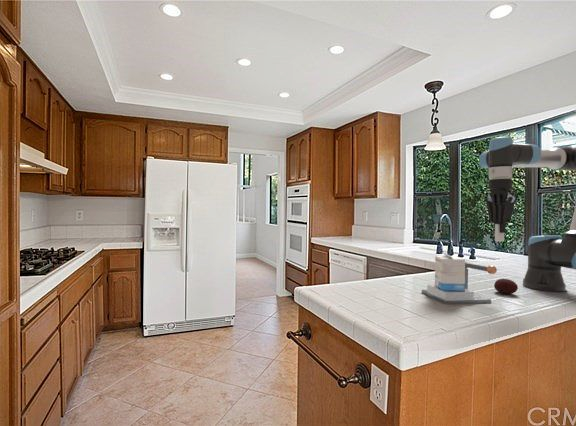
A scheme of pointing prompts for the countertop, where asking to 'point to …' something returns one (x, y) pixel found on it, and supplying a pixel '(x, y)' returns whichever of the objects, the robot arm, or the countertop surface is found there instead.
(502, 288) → the potato
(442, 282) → the ink box
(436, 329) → the countertop surface
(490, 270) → the lever
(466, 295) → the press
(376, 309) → the countertop surface
